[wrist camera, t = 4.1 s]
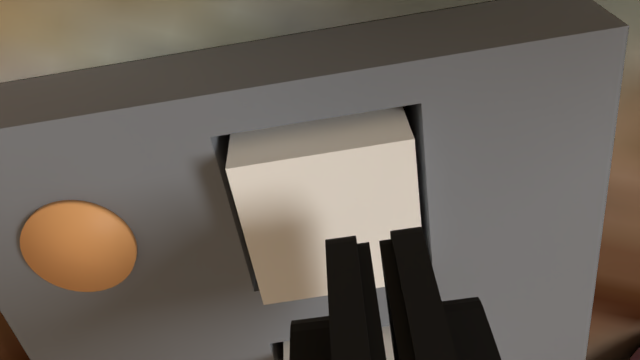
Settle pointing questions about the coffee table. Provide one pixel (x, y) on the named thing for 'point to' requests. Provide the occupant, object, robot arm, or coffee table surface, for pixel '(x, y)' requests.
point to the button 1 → (321, 194)
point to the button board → (296, 107)
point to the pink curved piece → (636, 355)
